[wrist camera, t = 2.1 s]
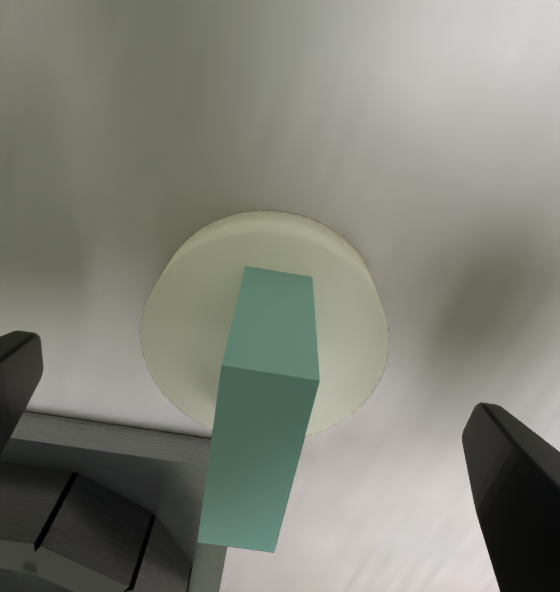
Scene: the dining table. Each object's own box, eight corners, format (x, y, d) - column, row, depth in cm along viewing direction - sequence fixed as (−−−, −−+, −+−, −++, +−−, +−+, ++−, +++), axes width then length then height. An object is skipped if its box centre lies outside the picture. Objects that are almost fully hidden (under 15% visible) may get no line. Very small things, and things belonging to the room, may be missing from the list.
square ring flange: (244, 444, 14) (231, 545, 11) (207, 646, 19) (192, 748, 16) (-168, 383, 13) (-296, 474, 10) (-83, 611, 19) (-151, 710, 16)
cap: (405, 231, 11) (484, 358, 6) (348, 412, 13) (374, 592, 9) (165, 189, 10) (66, 289, 6) (155, 382, 13) (81, 553, 8)
